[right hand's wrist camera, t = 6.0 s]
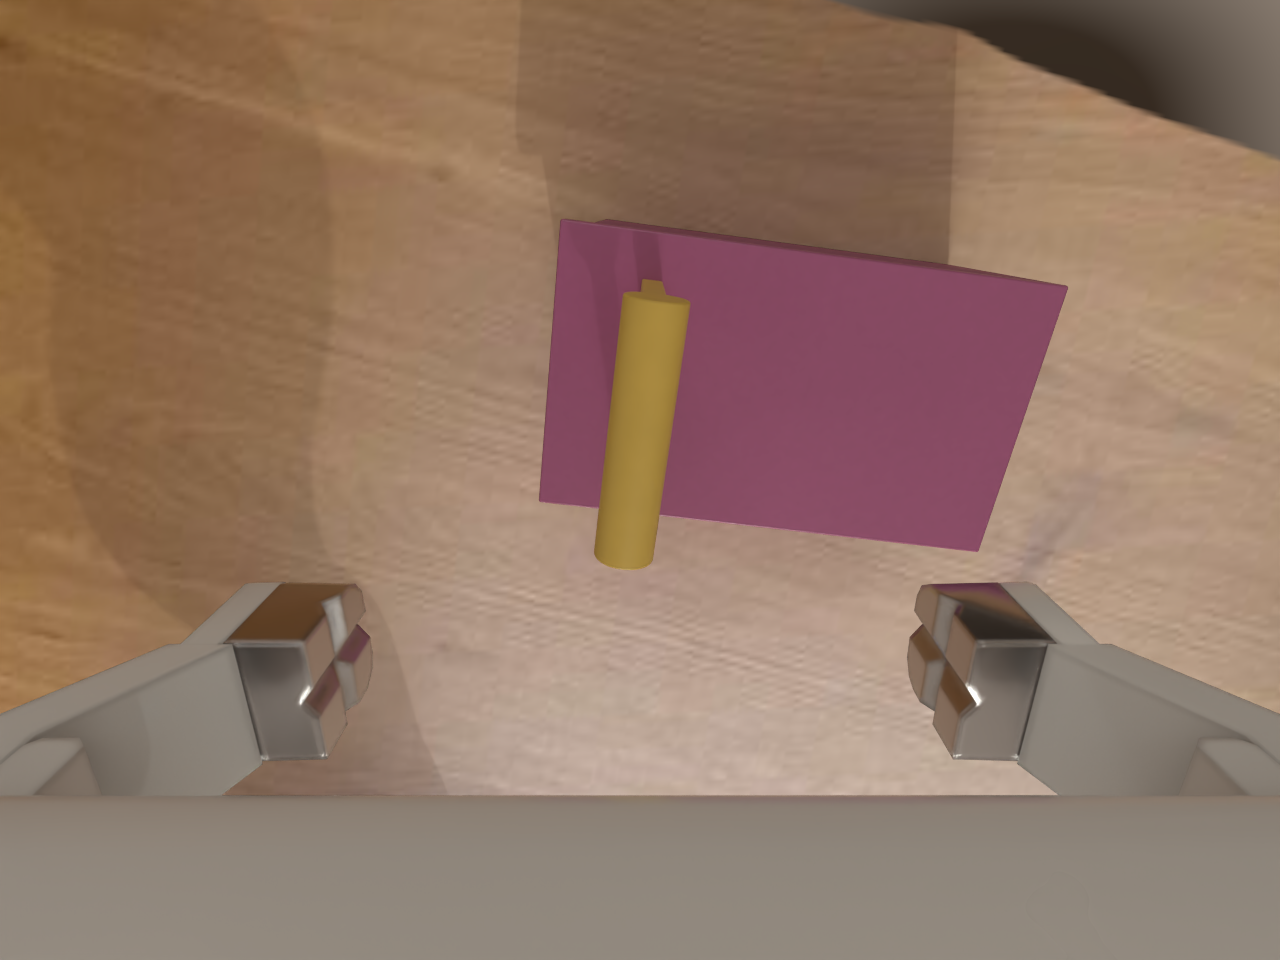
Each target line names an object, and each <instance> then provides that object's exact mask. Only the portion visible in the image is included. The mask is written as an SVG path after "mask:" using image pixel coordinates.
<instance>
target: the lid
mask: <svg viewBox="0 0 1280 960" xmlns="http://www.w3.org/2000/svg"><path fill="white" fill-rule="evenodd" d="M1067 290H1068V287H1067V286H1065V285H1060V284H1054V283H1046V282H1039V281H1031V280H1023V279H1016V278H1008V277H1001V276H993V275H986V274H978V273H971V272H963V271H956V270H948V269H940V268H933V267H925V266H918V265H910V264H903V263H895V262H888V261H880V260H873V259H865V258H857V257H850V256H842V255H835V254H827V253H820V252H812V251H805V250H797V249H790V248H782V247H774V246H767V245H759V244H752V243H744V242H737V241H729V240H722V239H714V238H707V237H699V236H691V235H684V234H676V233H669V232H661V231H654V230H646V229H639V228H631V227H624V226H616V225H609V224H601V223H593V222H586V221H578V220H571V219H561V221H560V233H559V246H558V259H557V272H556V285H555V298H554V311H553V324H552V337H551V350H550V363H549V376H548V389H547V402H546V415H545V428H544V441H543V454H542V467H541V480H540V493H539V501H540V502H545V503H554V504H563V505H572V506H580V507H589V508H598V509H599V512H598V521H597V530H596V539H595V548H594V554H595V557H596V558H597V559H598V560H599V561H600V562H601V563H603V564H605V565H607V566H609V567H612V568H616V569H622V570H637V569H641V568H644V567H647V566H648V565H649V564H650V563H651V562H652V560H653V555H654V548H655V541H656V534H657V528H658V521H659V516H668V517H676V518H685V519H694V520H703V521H711V522H720V523H729V524H737V525H746V526H755V527H764V528H772V529H781V530H790V531H799V532H807V533H816V534H825V535H834V536H842V537H851V538H860V539H868V540H877V541H886V542H895V543H903V544H912V545H921V546H930V547H938V548H947V549H956V550H965V551H973V552H978V551H979V548H980V545H981V542H982V539H983V536H984V533H985V530H986V527H987V524H988V521H989V518H990V515H991V512H992V510H993V507H994V504H995V501H996V498H997V495H998V492H999V489H1000V486H1001V483H1002V480H1003V477H1004V474H1005V471H1006V468H1007V466H1008V463H1009V460H1010V457H1011V454H1012V451H1013V448H1014V445H1015V442H1016V439H1017V436H1018V433H1019V430H1020V427H1021V424H1022V422H1023V419H1024V416H1025V413H1026V410H1027V407H1028V404H1029V401H1030V398H1031V395H1032V392H1033V389H1034V386H1035V383H1036V381H1037V378H1038V375H1039V372H1040V369H1041V366H1042V363H1043V360H1044V357H1045V354H1046V351H1047V348H1048V345H1049V342H1050V339H1051V337H1052V334H1053V331H1054V328H1055V325H1056V322H1057V319H1058V316H1059V313H1060V310H1061V307H1062V304H1063V301H1064V298H1065V295H1066V293H1067Z"/></svg>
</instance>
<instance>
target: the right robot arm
mask: <svg viewBox="0 0 1280 960" xmlns="http://www.w3.org/2000/svg"><path fill="white" fill-rule="evenodd" d="M365 611H366V609H365V605H364V600H363V595H362V591H361V590H360V588H359V587H358V586H357V585H356V584H341V583H285V582H256V583H247V584H244V585H243V586H242V587H241V588H240V589H239V590H238V591H237V592H236V593H235V594H234V595H233V596H232V597H230V598H229V599H228V600H227V601H226V602H225V603H224V604H223V605H222V606H221V607H220V608H219V609H218V610H216V611H215V612H214V613H213V614H212V615H211V616H210V617H209V618H208V619H207V620H206V621H205V622H204V623H202V624H201V625H200V626H199V627H198V628H197V629H196V630H195V631H194V632H193V633H192V634H191V635H190V636H188V637H187V638H186V639H185V640H184V641H183V642H182V643H181V644H168V645H165V646H163V647H160V648H158V649H156V650H153V651H151V652H148V653H146V654H144V655H141V656H139V657H136V658H134V659H132V660H129V661H127V662H124V663H122V664H120V665H117V666H115V667H112V668H110V669H107V670H105V671H103V672H100V673H98V674H95V675H93V676H91V677H88V678H86V679H83V680H81V681H79V682H76V683H74V684H71V685H69V686H67V687H64V688H62V689H59V690H57V691H54V692H52V693H50V694H47V695H45V696H42V697H40V698H38V699H35V700H33V701H30V702H28V703H26V704H23V705H21V706H18V707H16V708H13V709H11V710H9V711H6V712H4V713H1V714H0V960H1280V714H1278V713H1276V712H1273V711H1271V710H1268V709H1266V708H1264V707H1261V706H1259V705H1256V704H1254V703H1252V702H1249V701H1247V700H1244V699H1242V698H1240V697H1237V696H1235V695H1232V694H1230V693H1228V692H1225V691H1223V690H1220V689H1218V688H1216V687H1213V686H1211V685H1208V684H1206V683H1204V682H1201V681H1199V680H1196V679H1194V678H1192V677H1189V676H1187V675H1184V674H1182V673H1180V672H1177V671H1175V670H1172V669H1170V668H1168V667H1165V666H1163V665H1160V664H1158V663H1156V662H1153V661H1151V660H1148V659H1146V658H1144V657H1141V656H1139V655H1136V654H1134V653H1132V652H1129V651H1127V650H1124V649H1122V648H1119V647H1117V646H1115V645H1112V644H1099V643H1098V642H1097V641H1096V640H1095V639H1094V638H1093V637H1092V636H1091V635H1089V634H1088V633H1087V632H1086V631H1085V630H1084V629H1083V628H1082V627H1081V626H1080V625H1079V624H1078V623H1077V622H1075V621H1074V620H1073V619H1072V618H1071V617H1070V616H1069V615H1068V614H1067V613H1066V612H1065V611H1064V610H1063V609H1062V608H1060V607H1059V606H1058V605H1057V604H1056V603H1055V602H1054V601H1053V600H1052V599H1051V598H1050V597H1049V596H1048V595H1047V594H1045V593H1044V592H1043V591H1042V590H1041V589H1040V588H1039V587H1038V586H1037V585H1036V584H1032V583H1029V582H1006V583H958V584H928V585H922V586H921V588H920V590H919V592H918V594H917V598H916V604H915V609H914V611H915V613H916V614H917V616H918V617H919V619H920V621H921V622H922V625H921V626H920V627H919V628H918V629H917V630H916V631H915V632H914V633H913V634H912V635H911V636H910V639H909V647H908V654H907V661H908V672H909V678H910V681H911V684H912V687H913V690H914V692H915V694H916V696H917V698H918V699H919V701H920V702H921V703H922V704H924V705H926V706H927V707H929V708H930V709H932V710H933V711H935V713H934V719H933V726H934V727H935V729H936V731H937V733H938V734H939V736H940V738H941V740H942V741H943V743H944V745H945V746H946V748H947V750H948V752H949V753H950V755H951V757H952V758H953V759H963V760H1000V761H1018V763H1017V764H1018V765H1020V766H1021V767H1022V768H1024V769H1025V770H1026V771H1028V772H1029V773H1030V774H1032V775H1033V776H1034V777H1035V778H1037V779H1038V780H1039V781H1041V782H1042V783H1043V784H1045V785H1046V786H1047V787H1049V788H1050V789H1051V790H1053V791H1054V792H1055V793H1057V794H1058V795H768V796H573V795H222V794H224V793H225V792H226V791H228V790H229V789H230V788H232V787H233V786H234V785H236V784H237V783H238V782H239V781H241V780H242V779H243V778H245V777H246V776H247V775H249V774H250V773H251V772H253V771H254V770H255V769H257V768H258V767H259V766H261V765H262V761H279V760H315V759H328V757H329V755H330V753H331V752H332V750H333V748H334V746H335V745H336V743H337V741H338V740H339V738H340V736H341V734H342V733H343V731H344V729H345V727H346V726H347V719H346V713H345V711H347V710H348V709H350V708H351V707H353V706H354V705H356V704H358V703H359V702H360V701H361V699H362V697H363V696H364V694H365V692H366V690H367V688H368V684H369V680H370V676H371V672H372V645H371V639H370V636H369V635H368V634H367V633H366V632H365V631H364V630H363V629H362V628H361V627H360V626H359V625H358V622H359V621H360V619H361V617H362V616H363V614H364V613H365Z"/></svg>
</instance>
